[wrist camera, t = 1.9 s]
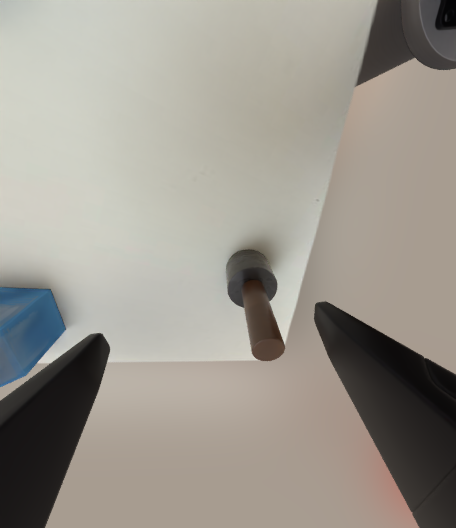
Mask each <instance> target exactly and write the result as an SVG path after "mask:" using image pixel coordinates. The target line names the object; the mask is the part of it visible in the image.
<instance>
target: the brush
mask: <svg viewBox="0 0 456 528" xmlns="http://www.w3.org/2000/svg"><path fill="white" fill-rule="evenodd" d="M226 275H227V289H228V295H229V297H230V299H231V300H232V301H233V302H234V303H235V304H236V305H238V306H240V307H243V308H244V310H245V315H246V321H247V327H248V333H249V338H250V344H251V350H252V354H253V356H254V357H255V358H256V359H258V360H261V361H271V360H275V359H277V358H279V357H280V356H281V355H282V354H283V353H284V350H285V345H284V342H283V339H282V337H281V334H280V331H279V328H278V325H277V322H276V319H275V317H274V314H273V311H272V308H271V305H270V302H269V301H271V300H272V298H273V297H274V296H275V294H276V291H277V281H276V278H275V276H274V274H273V272H272V270H271V267H270V265H269V263H268V261H267V259H266V258H265V256H264V255H263V254H261V253H260V252H258V251H255V250H243V251H240V252H237V253H236V254H234V255H233V256H232V257H231V258H230V259H229V261H228V263H227V266H226Z"/></svg>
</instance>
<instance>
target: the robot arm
mask: <svg viewBox="0 0 456 528" xmlns="http://www.w3.org/2000/svg"><path fill="white" fill-rule="evenodd" d="M445 15H447V20H446V21H445ZM435 28H436V29H437V30H451V29H456V0H441V2H440V6H439V9H438V13H437V16H436V20H435ZM314 320H315V324H316V327H317V329H318V331H319V334H320V336H321V339H322V341H323V344H324V346H325V349H326V351H327V354H328V356H329V358H330V360H331V362H332V364H333V366H334V368H335V370H336V372H337V374H338V376H339V377H340V379H341V381H342V383H343V385H344V387H345V389H346V391H347V392H348V394H349V396H350V398H351V400H352V402H353V404H354V405H355V407H356V409H357V411H358V413H359V415H360V417H361V419H362V420H363V422H364V424H365V426H366V428H367V430H368V432H369V434H370V436H371V437H372V439H373V441H374V443H375V445H376V447H377V448H378V450H379V452H380V454H381V456H382V458H383V460H384V462H385V463H386V465H387V467H388V469H389V471H390V473H391V475H392V477H393V479H394V480H395V482H396V484H397V486H398V488H399V490H400V492H401V493H402V495H403V497H404V499H405V501H406V503H407V505H408V507H409V508H410V510H411V512H413V516H414V518H415V520H416V522H417V524H418V526H419V527H420V528H456V374H454V373H452V372H450V371H449V370H447V369H445V368H443V367H441V366H439V365H438V364H436V363H434V362H432V361H431V360H429V359H427V358H425V359H424V357H423V356H422V355H420V354H418V353H416V352H414V351H413V350H411V349H409V348H408V347H406V346H404V345H402V344H401V343H399V342H397V341H395V340H394V339H392V338H390V337H388V336H386V335H385V334H383V333H381V332H379V331H377V330H376V329H374V328H372V327H371V326H369V325H367V324H365V323H363V322H362V321H360V320H358V319H356V318H355V317H353V316H351V315H349V314H348V313H346V312H344V311H342V310H340V309H339V308H337V307H335V306H334V305H332V304H330V303H328V302H318V303H316V304H315V314H314ZM109 353H110V346H109V344H108V342H107V341H106V339H105V337H104V336H103V334H101V333H96V334H90V335H89V336H87V337H86V338H85V339H83V340H82V341H81V342H79V343H78V344H76V345H75V346H74V347H72V348H71V349H70V350H68V351H67V352H66V353H64V354H63V355H62V356H60V357H59V358H58V359H56V360H55V361H53V362H52V363H51V364H49V365H48V366H47V367H45V368H44V369H43V370H41V371H40V372H39V373H37V374H36V375H35V376H33V377H32V378H30V379H29V380H28V381H26V382H25V383H24V384H22V385H21V386H20V387H18V388H17V389H16V390H14V391H13V392H12V393H10V394H9V395H8V396H6V397H5V398H3V399H2V400H1V401H0V528H45V526H46V524H47V521H48V519H49V516H50V513H51V511H52V508H53V506H54V503H55V501H56V498H57V495H58V493H59V490H60V488H61V485H62V483H63V480H64V478H65V475H66V473H67V470H68V467H69V465H70V462H71V460H72V457H73V455H74V452H75V449H76V447H77V444H78V442H79V439H80V437H81V434H82V432H83V429H84V426H85V424H86V421H87V419H88V416H89V414H90V411H91V409H92V406H93V403H94V401H95V398H96V396H97V393H98V390H99V387H100V384H101V381H102V377H103V374H104V370H105V367H106V363H107V360H108V357H109Z"/></svg>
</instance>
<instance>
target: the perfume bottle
mask: <svg viewBox="0 0 456 528" xmlns="http://www.w3.org/2000/svg"><path fill="white" fill-rule="evenodd" d="M65 330H66V329H65V326H64V324H63V321H62V318H61V316H60V313H59V310H58V308H57V305H56V303H55V300H54V297H53V295H52V292H51V290H50V289H27V288H3V287H0V387H2V386H4V385H6V384H8V383H11V382H13V381H15V380H17V379H19V378H22V377H24V376H26V375H27V374H28V372H29V371H30V370H31V369H32V368H33V367H34V366H35V364H36V363H37V362H38V361H39V360H40V359H41V358H42V356H43V355H44V354H45V353H46V352H47V351H48V350H49V348H50V347H51V346H52V345H53V344H54V343H55V341H56V340H57V339H58V338H59V337H60V336H61V334H62V333H63V332H64V331H65Z"/></svg>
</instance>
